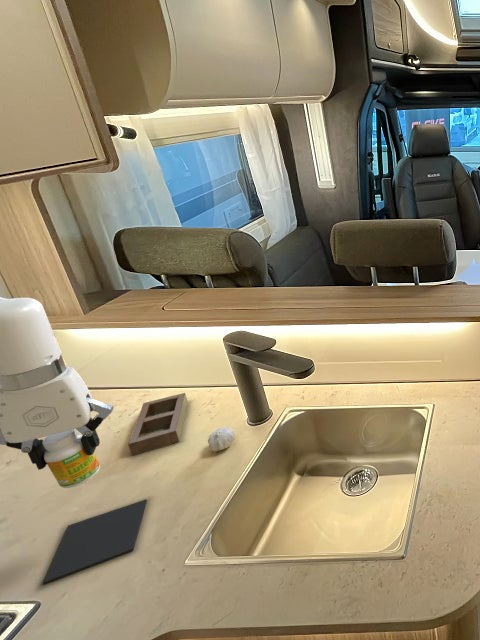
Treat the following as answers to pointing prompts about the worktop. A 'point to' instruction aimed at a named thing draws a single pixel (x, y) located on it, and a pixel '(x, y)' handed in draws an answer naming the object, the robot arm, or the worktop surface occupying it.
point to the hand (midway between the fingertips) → (69, 455)
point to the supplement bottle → (69, 459)
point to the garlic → (221, 439)
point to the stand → (159, 424)
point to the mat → (97, 540)
